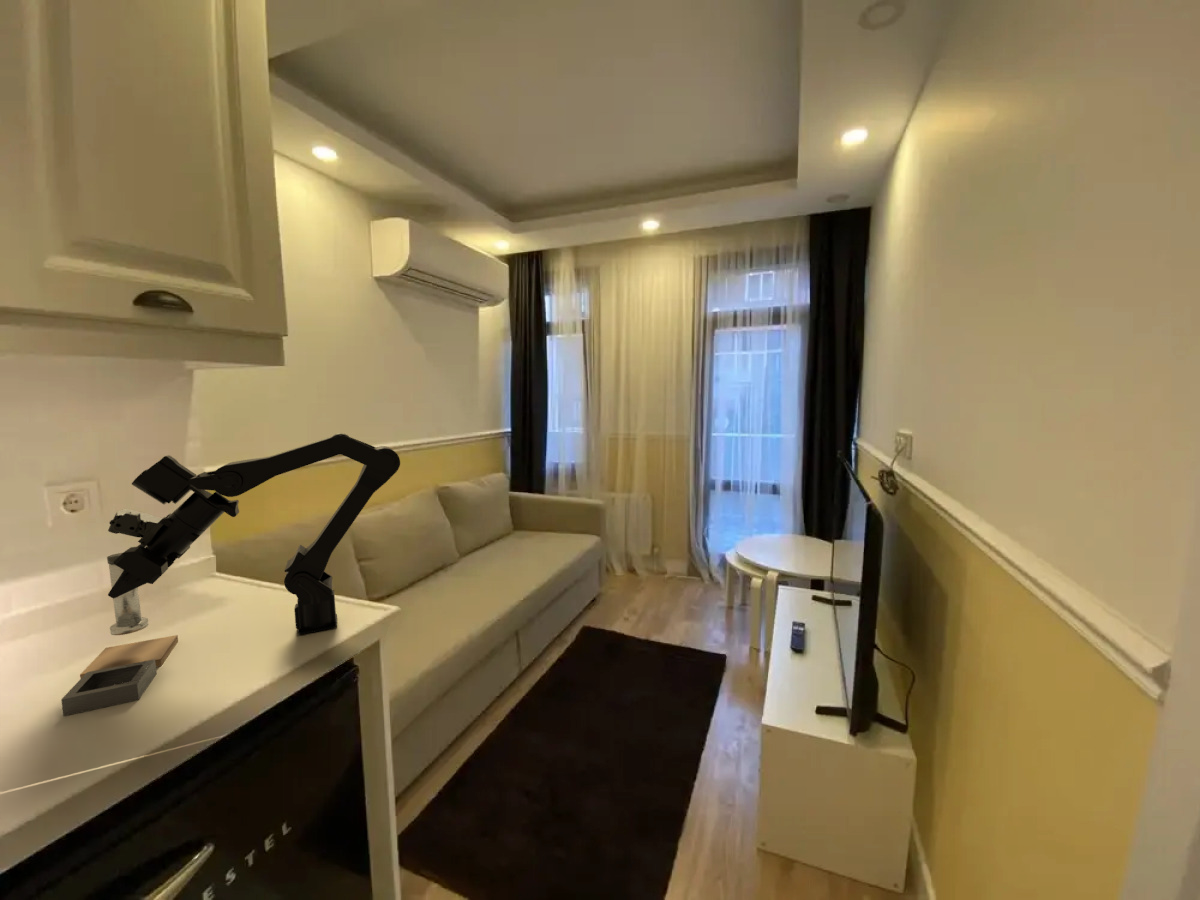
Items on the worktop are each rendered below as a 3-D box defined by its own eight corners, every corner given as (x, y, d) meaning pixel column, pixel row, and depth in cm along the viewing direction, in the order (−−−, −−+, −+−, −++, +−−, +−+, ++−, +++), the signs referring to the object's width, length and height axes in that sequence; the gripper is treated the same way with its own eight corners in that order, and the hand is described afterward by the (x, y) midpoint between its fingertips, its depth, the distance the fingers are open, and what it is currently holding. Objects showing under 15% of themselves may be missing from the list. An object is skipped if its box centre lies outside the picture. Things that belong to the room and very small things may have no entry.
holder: (156, 673, 83) (155, 659, 82) (138, 699, 75) (137, 683, 75) (88, 687, 79) (87, 672, 79) (63, 716, 72) (61, 699, 71)
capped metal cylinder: (155, 622, 89) (147, 550, 88) (132, 634, 84) (123, 558, 83) (127, 623, 89) (118, 551, 88) (102, 635, 84) (92, 559, 83)
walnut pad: (178, 641, 94) (177, 634, 94) (161, 665, 85) (160, 659, 85) (106, 654, 89) (105, 647, 89) (80, 681, 81) (80, 674, 81)
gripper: (161, 484, 94) (89, 551, 91) (124, 501, 78) (33, 584, 74) (217, 520, 99) (151, 585, 95) (193, 543, 82) (111, 624, 78)
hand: (115, 593), depth 85 cm, fingers closed on capped metal cylinder, 3 cm apart
